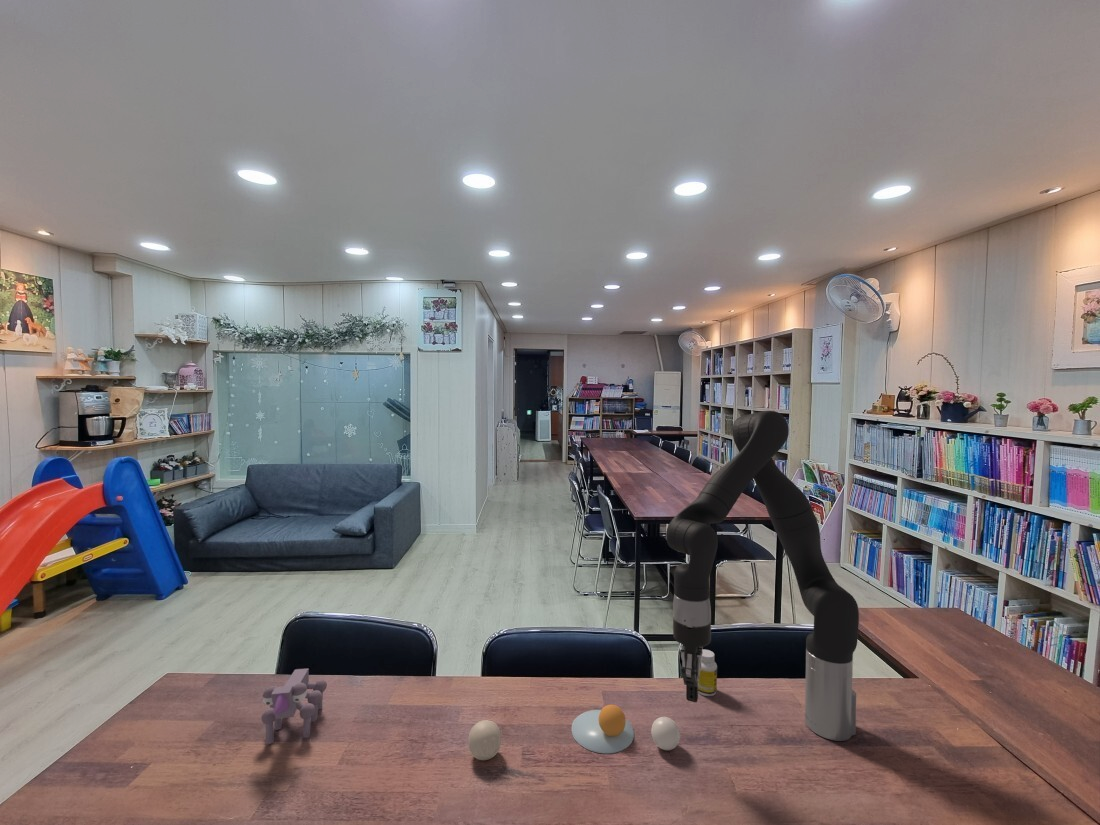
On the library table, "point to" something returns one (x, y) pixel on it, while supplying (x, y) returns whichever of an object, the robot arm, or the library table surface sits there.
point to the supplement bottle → (708, 674)
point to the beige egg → (484, 740)
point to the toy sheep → (293, 702)
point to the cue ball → (665, 733)
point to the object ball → (612, 720)
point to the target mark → (599, 734)
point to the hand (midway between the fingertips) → (692, 699)
